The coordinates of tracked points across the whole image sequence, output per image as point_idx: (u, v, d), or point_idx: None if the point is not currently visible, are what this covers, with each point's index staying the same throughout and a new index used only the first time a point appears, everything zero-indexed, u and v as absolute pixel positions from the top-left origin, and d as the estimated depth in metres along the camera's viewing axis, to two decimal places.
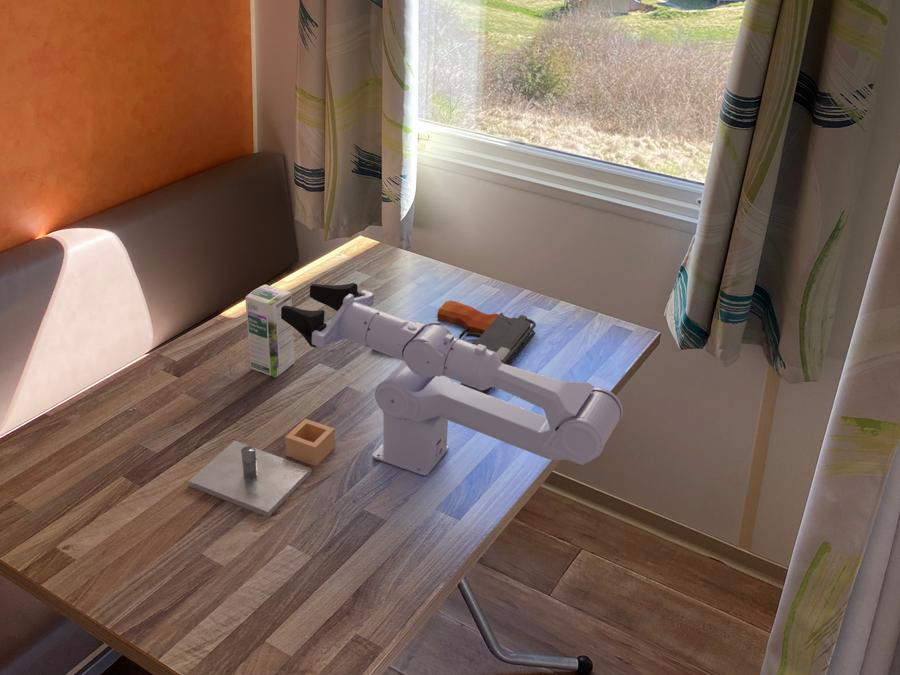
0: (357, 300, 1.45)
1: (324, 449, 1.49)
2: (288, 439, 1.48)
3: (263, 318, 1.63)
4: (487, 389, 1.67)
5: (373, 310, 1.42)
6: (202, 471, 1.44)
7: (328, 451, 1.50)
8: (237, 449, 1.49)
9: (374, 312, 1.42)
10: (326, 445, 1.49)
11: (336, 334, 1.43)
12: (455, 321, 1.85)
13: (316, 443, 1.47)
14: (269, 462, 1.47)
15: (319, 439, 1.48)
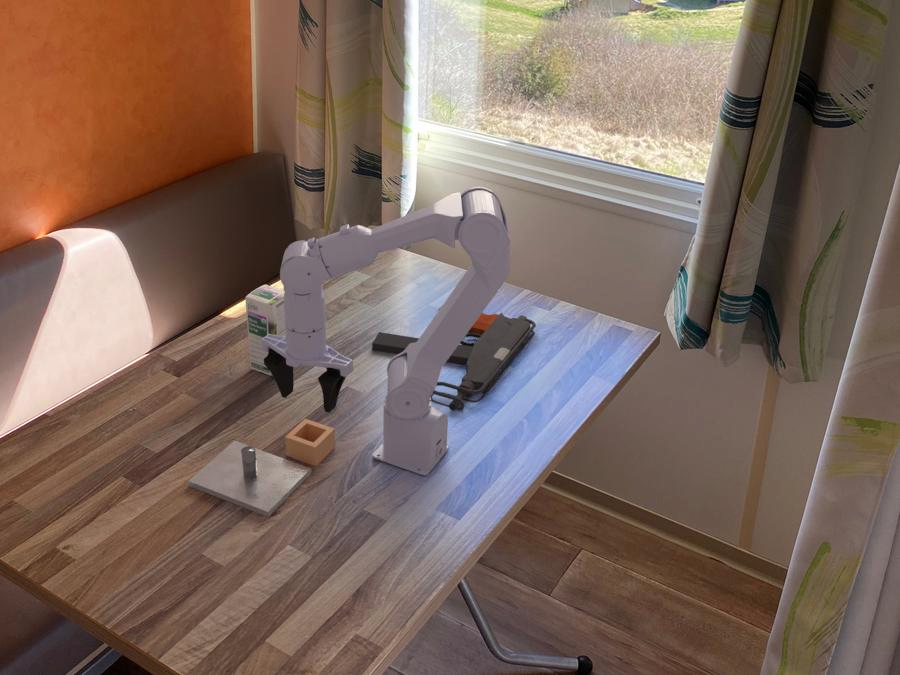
0: (284, 353, 1.40)
1: (324, 449, 1.49)
2: (288, 439, 1.48)
3: (263, 318, 1.63)
4: (487, 389, 1.67)
5: (291, 335, 1.37)
6: (202, 471, 1.44)
7: (328, 451, 1.50)
8: (237, 449, 1.49)
9: (294, 334, 1.37)
10: (326, 445, 1.49)
11: (327, 353, 1.41)
12: None
13: (316, 443, 1.47)
14: (269, 462, 1.47)
15: (319, 439, 1.48)
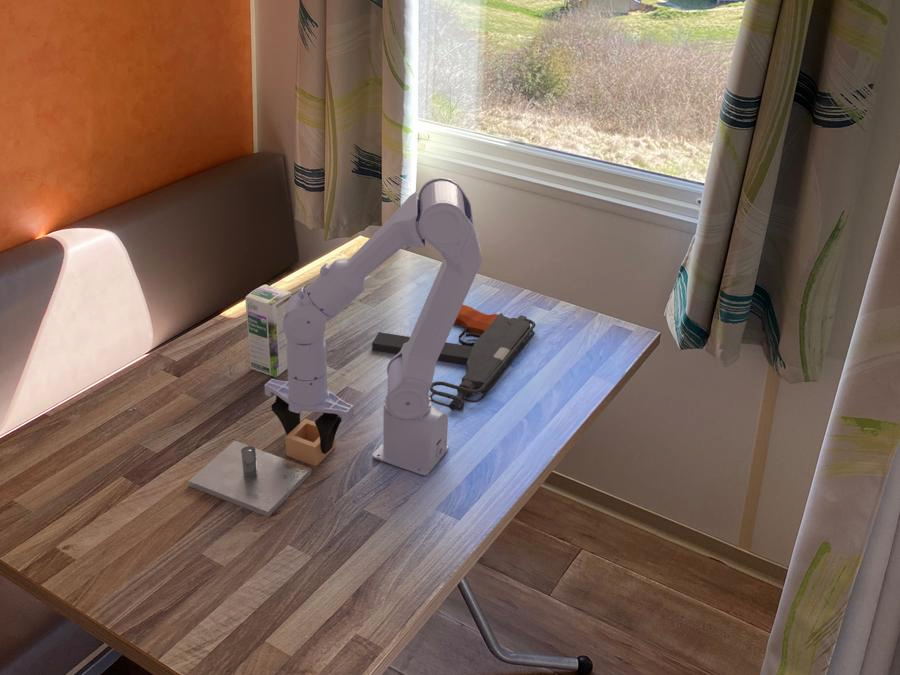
0: (287, 398, 1.44)
1: None
2: (288, 439, 1.48)
3: (263, 318, 1.63)
4: (487, 389, 1.67)
5: (294, 382, 1.41)
6: (202, 471, 1.44)
7: (328, 451, 1.50)
8: (237, 449, 1.49)
9: (296, 381, 1.41)
10: None
11: (329, 398, 1.45)
12: (455, 321, 1.85)
13: (316, 443, 1.47)
14: (269, 462, 1.47)
15: (319, 439, 1.48)
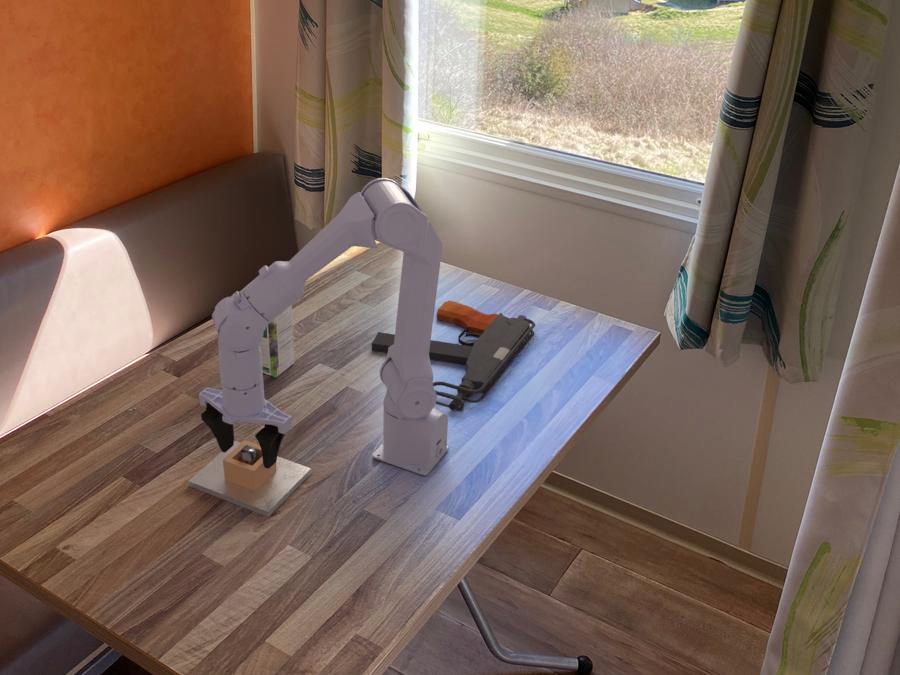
0: (221, 408, 1.37)
1: (264, 472, 1.42)
2: (226, 462, 1.41)
3: None
4: (487, 389, 1.67)
5: (227, 392, 1.34)
6: (202, 471, 1.44)
7: (269, 474, 1.44)
8: None
9: (229, 390, 1.33)
10: None
11: (266, 409, 1.37)
12: (454, 321, 1.85)
13: (255, 467, 1.40)
14: None
15: (258, 462, 1.41)
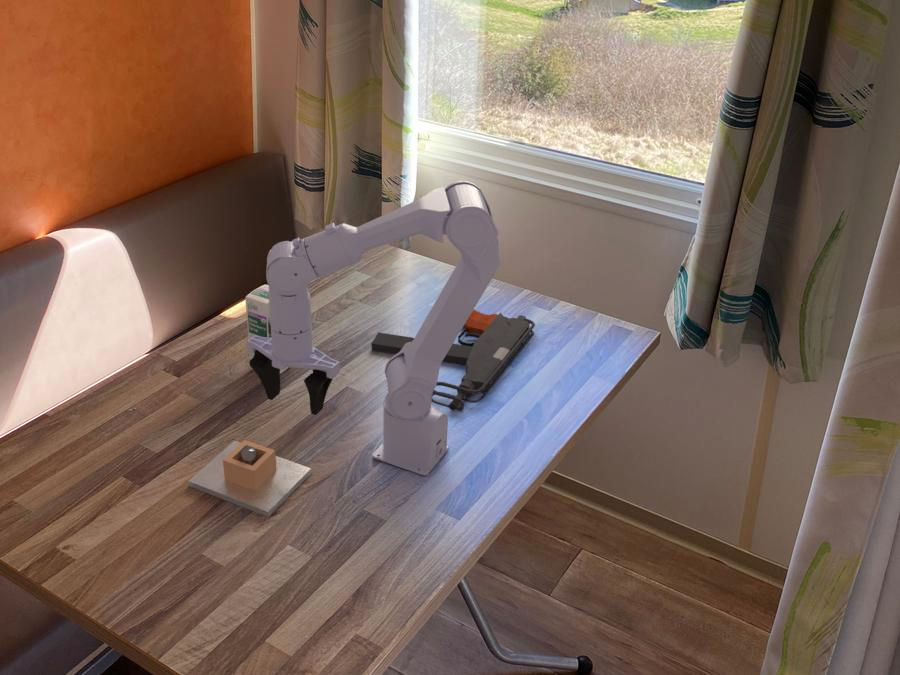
0: (270, 354, 1.39)
1: (264, 472, 1.42)
2: (226, 462, 1.41)
3: (263, 318, 1.63)
4: (487, 389, 1.67)
5: (277, 337, 1.36)
6: (202, 471, 1.44)
7: (269, 474, 1.44)
8: None
9: (279, 335, 1.36)
10: (267, 467, 1.42)
11: (314, 355, 1.40)
12: None
13: (255, 467, 1.40)
14: None
15: (258, 462, 1.41)
